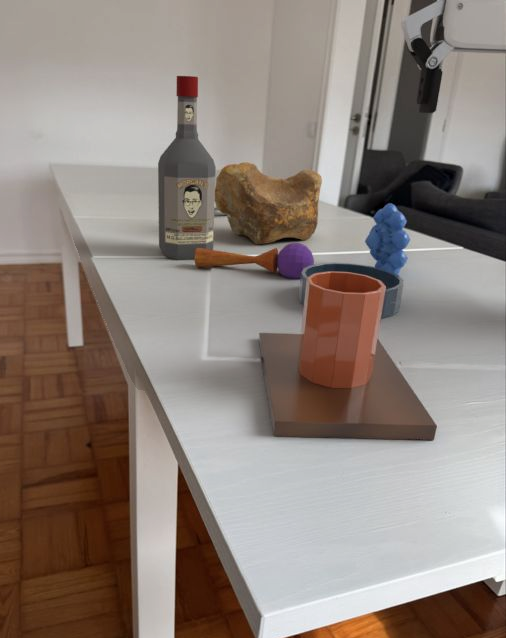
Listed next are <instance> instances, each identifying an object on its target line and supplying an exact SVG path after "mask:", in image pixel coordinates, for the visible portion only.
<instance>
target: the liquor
mask: <svg viewBox="0 0 506 638" xmlns="http://www.w3.org/2000/svg"><path fill="white" fill-rule="evenodd" d="M176 97H177V112H176V113H177V114H176V115H177V117H176V118H177V119H176V120H177V122H176V124H177V125H176V132H175V137H174V139H173V140H172V141H171V142H170V144H169V145H168V146H167V148H166V149H165V150H164V151H163V152H162V154H161V155H160V157H159V159H158V162H157V176H158V177H157V178H158V179H157V181H158V182H157V183H158V184H157V185H158V192H157V193H158V194H157V195H158V247H159V250H160V251H161V253H162V255H164V256H165V258H166V259H172V260H177V261H184V260H185V261H187V260H195V251H196V249H197V248H203V249H209V250H214V239H215V238H214V234H215V233H214V232H215V216H214V204H215V187H216V168H217V167H216V164H215V161H214V159H213V157H212V155H211V154H210V153H209V152H208V150H207V149H206V148H205V146H204V145H203V143H202V142H201V141H200V140H199V133H198V127H197V126H198V122H197V121H198V97H199V77H198V76H191V75H176Z"/></svg>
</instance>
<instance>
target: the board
mask: <svg viewBox="0 0 506 638" xmlns="http://www.w3.org/2000/svg"><path fill="white" fill-rule="evenodd" d="M300 340H301V333H283V332H280V333H279V332H259V333H258V344H259V349H260V355H261V357H260V361H261V367H262V374H263V379H264V385H265V386H264V387H265V392H266V396H267V403H268V409H269V410H268V411H269V416H270V422H271V428H272V434H273V437H294V438H295V437H296V438H332V439H333V438H335V439H369V440H371V439H373V440H375V439H376V440H408V439H417V440H416V441H434V440H435V436H436V432H437V429H438V425H437V423H436V422H435V421H434V419H433V417H432V416H431V415H430V413H429V412H428V410H427V408H426V407H425V406H424V404H423V403H422V401H421V400H420V399H419V397H418V396H417V394H416V392H415V391H414V390H413V389H412V387H411V385H410V384H409V382H408V381H407V380H406V377H404V375H403V373H402V372H401V371H400V369H399V368H398V366H397V364H396V363H395V362H394V360H393V359H392V357H391V356H390V354H389V353H388V351H387V350H386V349H385V347H384V345H383V343H382V342H381V341H380V340H379V337H378V338H377V345H376V351H375V357H374V363H373V369H372V375H371V378H370V379H369V380H368V382H367V383H366V384H365V385H361V386H358V387H354V388H330V387H327V386H323V385H319V384H316V383H313V382H311V381H309V380H308V379H306V378H305V377H303V376H302V375H300V372H299V369H298V359H299V350H300ZM418 439H420V440H418ZM421 439H423V440H421ZM428 439H429V440H428ZM431 439H432V440H431Z"/></svg>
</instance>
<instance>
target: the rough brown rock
mask: <svg viewBox="0 0 506 638" xmlns="http://www.w3.org/2000/svg"><path fill="white" fill-rule="evenodd" d="M322 178H323V177H322V175H320V174H319V172H317V171H314V170H309V169H306V170H305V169H304V170H303V169H302V170H300V171H299V172H298V173H296V174H294V175H291V176H289V177H287V178H285V179H283V178H281V177H272V176H268V175H266V174H264V173H263V172H261V170H259V168H258V166H257V165H255V164H254V163H251V162H240V163H238V164H236V163H233V164H227V165H224V167H222V168H221V170H220V172H219V174H218V175H217V176H216V178H215V203H216V207H217V209H218V210H219V211H220V212H222V213H224V214H226V215H225V216H226V218H227V221H228V224H229V227H230V230H231V232H232V233H234V234H235V235H237V236H245V237H247V238H249V239H250V240H251V241H252V242H253V243H254V244H255V245H263V244H269V243H273V242H276V241H279V240H281V239H286V238H294V239H299V240H301V241H306V240H309V239H310V238H311V237H312V236H313V235H314V234H315V232H316V229H317V227H318V220H319V219H318V218H319V201H320V194H321V188H322V183H323V179H322Z"/></svg>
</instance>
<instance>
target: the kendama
mask: <svg viewBox="0 0 506 638" xmlns="http://www.w3.org/2000/svg"><path fill="white" fill-rule="evenodd" d="M249 264H250V265H251V264H256V265H257V266H260V267H261V268H264V269H265V270H267V271H269V272H271V273H273V274H277V272H279V273H280V274H281V275H282V276H283V277H285V278H287V279H292V280H298V279H299V280H300V278H301V272H302V270H303V269H304V268H306V267H308V266H310V265H315V259H314V255H313V252H312V251H311V250H310V249H309V248H308V247H307V246H306V245H305V244H303V243H301V242H291V243H288V244H285V246H284V247H282V248H281V249H280V251H279V250H278V248H277V247H275V248H273V249H270V250H268V251H265V252H263V253H260V254H258V255H256V256H255V255H249V254H241V253H235V252H228V251H222V250H215V249H213V250H209V249H203V248H197V249H196V251H195V259H194V265H195V267H196V268H207V267H220V266H221V267H222V266H223V267H224V266H235V265H237V266H238V265H249Z"/></svg>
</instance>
